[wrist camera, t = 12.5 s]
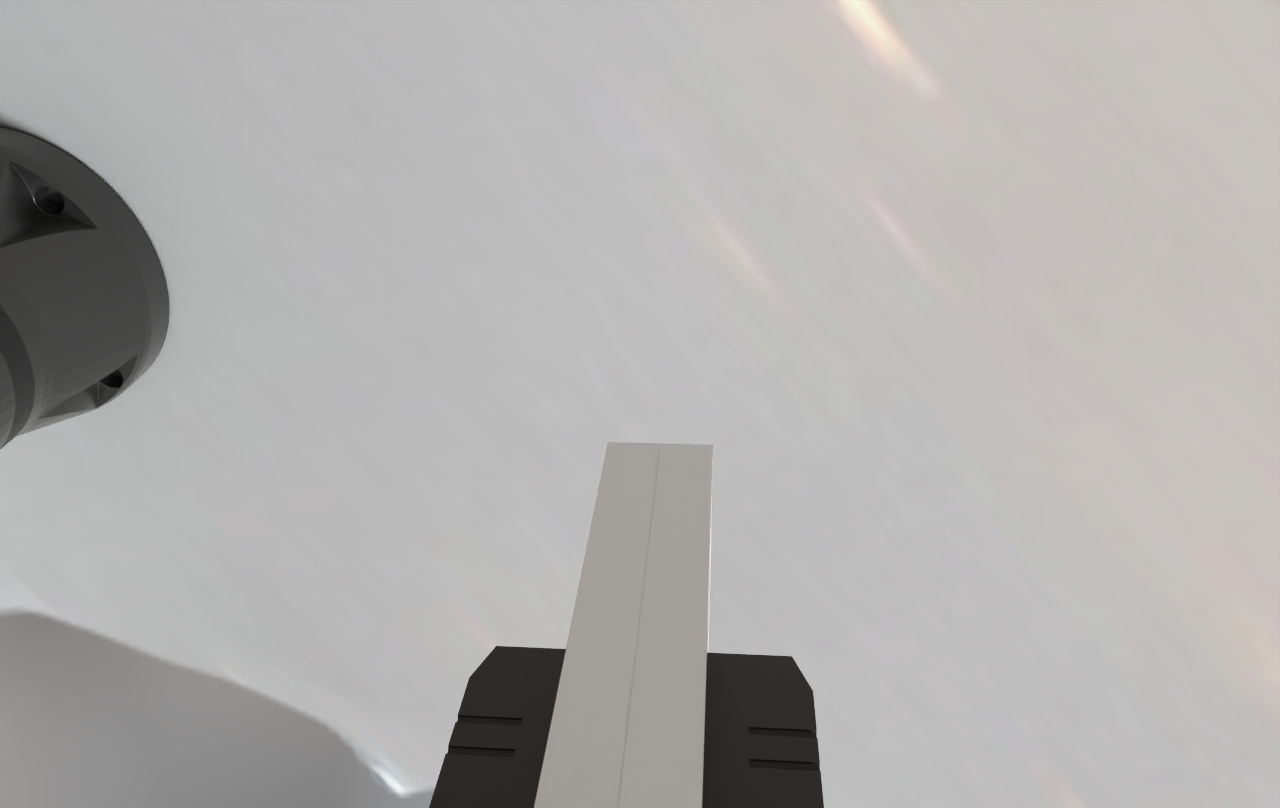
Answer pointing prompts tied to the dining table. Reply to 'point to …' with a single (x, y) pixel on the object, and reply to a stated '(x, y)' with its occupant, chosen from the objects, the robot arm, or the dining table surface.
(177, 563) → the dining table surface
